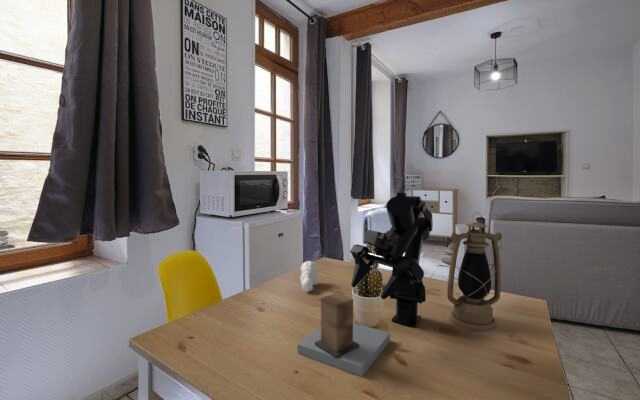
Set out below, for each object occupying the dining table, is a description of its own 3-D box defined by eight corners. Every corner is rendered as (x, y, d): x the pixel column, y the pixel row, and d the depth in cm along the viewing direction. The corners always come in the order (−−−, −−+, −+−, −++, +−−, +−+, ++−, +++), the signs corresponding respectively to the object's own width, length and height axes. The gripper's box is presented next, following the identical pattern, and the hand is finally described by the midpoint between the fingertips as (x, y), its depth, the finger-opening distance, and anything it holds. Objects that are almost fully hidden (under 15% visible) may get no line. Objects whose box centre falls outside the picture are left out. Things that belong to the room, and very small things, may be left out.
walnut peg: (337, 342, 77) (337, 290, 76) (359, 355, 72) (359, 299, 70) (314, 353, 72) (314, 297, 71) (335, 367, 67) (336, 307, 66)
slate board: (332, 324, 86) (332, 317, 86) (389, 341, 78) (390, 333, 78) (297, 352, 73) (297, 344, 73) (362, 376, 64) (362, 367, 64)
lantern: (486, 310, 94) (491, 209, 92) (512, 330, 83) (518, 215, 80) (438, 311, 94) (441, 209, 92) (456, 331, 82) (460, 215, 80)
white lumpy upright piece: (317, 259, 118) (316, 272, 106) (317, 280, 120) (316, 296, 108) (300, 259, 118) (297, 272, 107) (301, 280, 120) (297, 296, 108)
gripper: (355, 213, 82) (321, 262, 76) (417, 222, 67) (381, 284, 62) (376, 239, 88) (345, 287, 82) (437, 253, 73) (406, 312, 67)
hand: (366, 292), depth 73 cm, fingers open, 9 cm apart
